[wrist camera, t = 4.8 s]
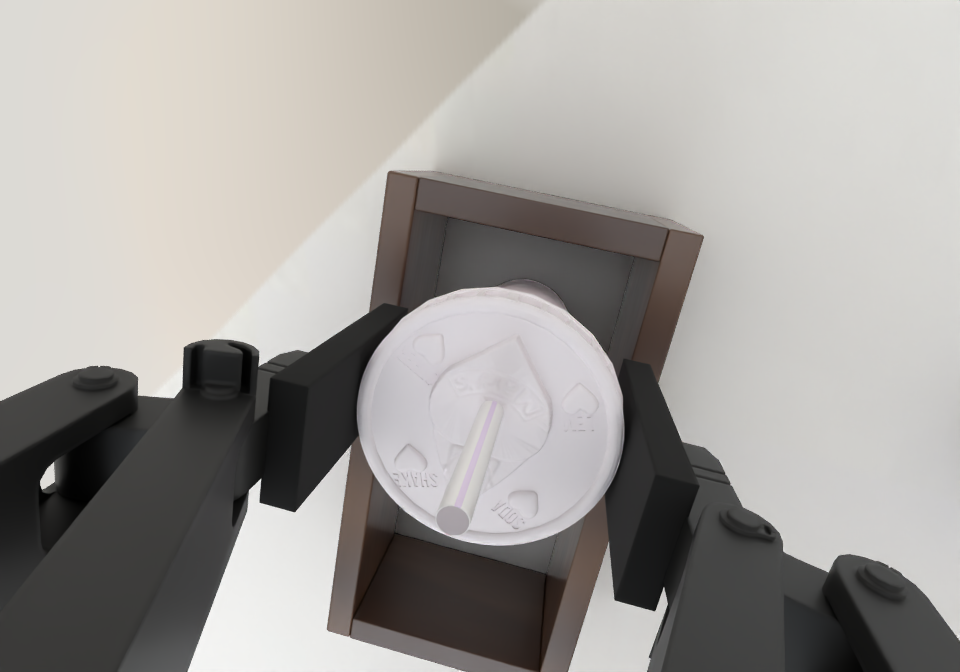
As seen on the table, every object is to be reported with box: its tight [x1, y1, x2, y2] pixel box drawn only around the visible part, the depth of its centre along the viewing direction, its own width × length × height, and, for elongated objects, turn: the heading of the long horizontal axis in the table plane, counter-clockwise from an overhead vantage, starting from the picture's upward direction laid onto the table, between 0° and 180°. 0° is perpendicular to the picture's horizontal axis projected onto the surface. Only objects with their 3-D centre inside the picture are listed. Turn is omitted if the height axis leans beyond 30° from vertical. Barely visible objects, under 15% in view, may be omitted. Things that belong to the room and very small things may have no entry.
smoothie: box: [357, 279, 624, 546], centre depth 15 cm, size 6×6×14 cm
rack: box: [327, 171, 704, 672], centre depth 22 cm, size 18×10×6 cm, turn 169°
